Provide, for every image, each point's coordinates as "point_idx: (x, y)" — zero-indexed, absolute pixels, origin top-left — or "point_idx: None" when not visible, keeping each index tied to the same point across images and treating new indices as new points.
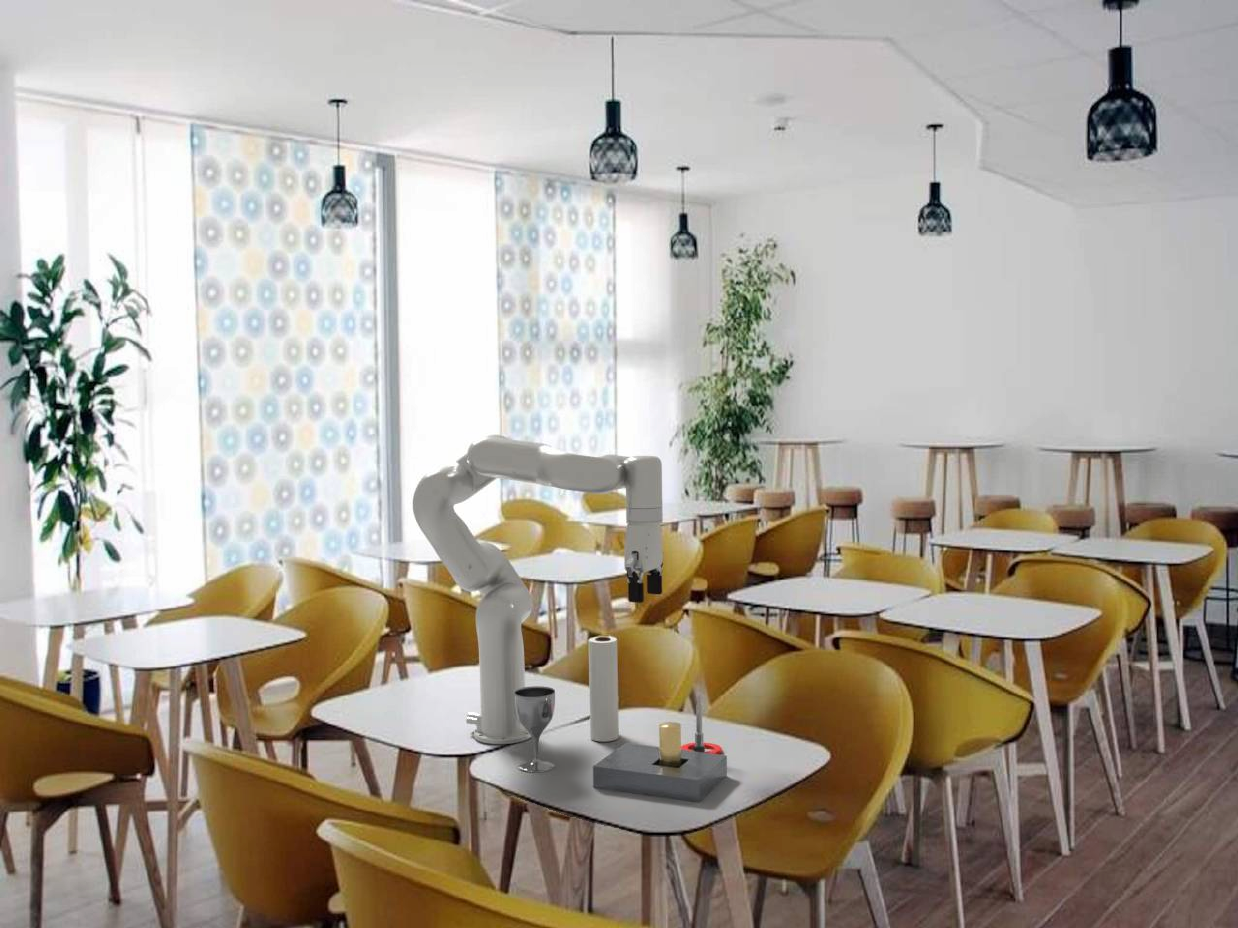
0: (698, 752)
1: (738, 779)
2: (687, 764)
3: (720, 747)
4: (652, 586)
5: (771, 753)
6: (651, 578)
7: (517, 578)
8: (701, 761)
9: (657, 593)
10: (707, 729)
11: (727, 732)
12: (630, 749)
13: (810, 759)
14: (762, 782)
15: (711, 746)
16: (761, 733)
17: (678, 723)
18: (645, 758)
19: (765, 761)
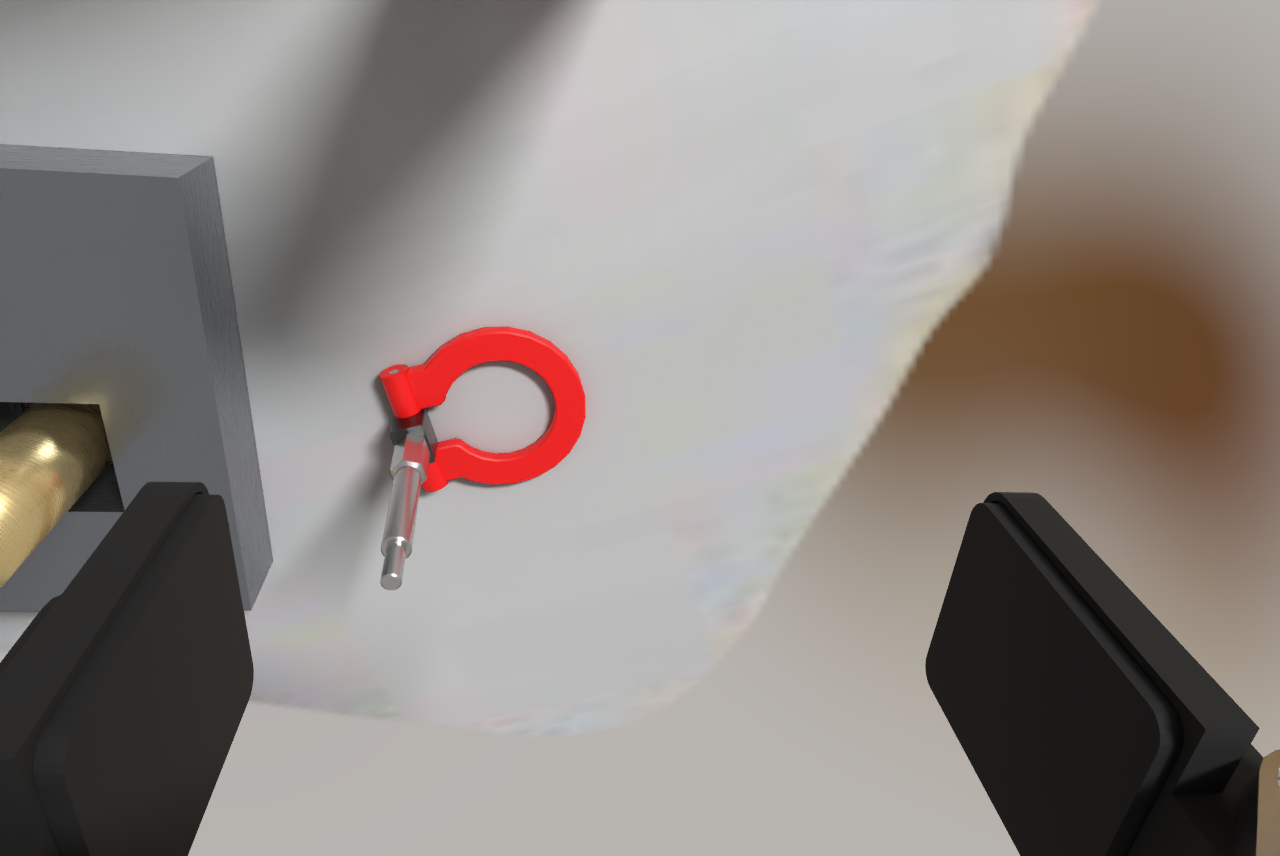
0: (228, 515)
1: (259, 599)
2: (60, 524)
3: (536, 472)
4: (1007, 650)
5: (572, 615)
6: (1099, 755)
7: None
8: None
9: (932, 641)
10: (801, 339)
11: (777, 422)
12: (96, 238)
13: (554, 718)
14: (271, 664)
15: (546, 435)
16: (791, 532)
17: (5, 579)
18: (20, 349)
19: (481, 620)
